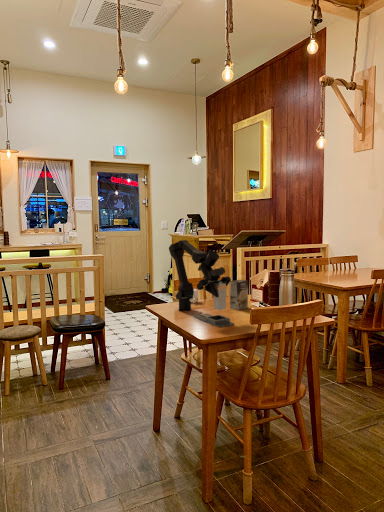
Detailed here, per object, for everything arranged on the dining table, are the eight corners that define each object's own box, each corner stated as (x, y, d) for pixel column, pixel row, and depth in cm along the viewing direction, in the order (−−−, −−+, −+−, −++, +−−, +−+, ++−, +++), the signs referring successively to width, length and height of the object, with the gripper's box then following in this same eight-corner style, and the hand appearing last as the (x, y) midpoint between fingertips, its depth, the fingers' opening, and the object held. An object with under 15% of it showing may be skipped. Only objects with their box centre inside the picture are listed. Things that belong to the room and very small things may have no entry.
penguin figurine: (197, 289, 232) (178, 291, 234) (198, 303, 233) (179, 304, 234) (198, 287, 238) (179, 289, 240) (199, 300, 239) (181, 302, 241)
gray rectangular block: (213, 308, 189) (213, 283, 188) (220, 307, 192) (220, 282, 191) (218, 310, 185) (218, 284, 184) (226, 309, 188) (226, 283, 187)
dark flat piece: (193, 316, 200) (193, 312, 200) (207, 314, 204) (207, 310, 204) (219, 327, 179) (219, 322, 179) (234, 324, 184) (234, 319, 184)
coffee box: (237, 310, 214) (237, 282, 213) (229, 308, 219) (229, 281, 218) (248, 307, 220) (248, 280, 219) (240, 305, 225) (240, 279, 224)
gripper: (199, 263, 184) (213, 288, 176) (229, 260, 195) (243, 284, 187) (191, 277, 192) (203, 302, 184) (219, 274, 202) (232, 297, 194)
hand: (221, 296), depth 187 cm, fingers closed on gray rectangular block, 4 cm apart
